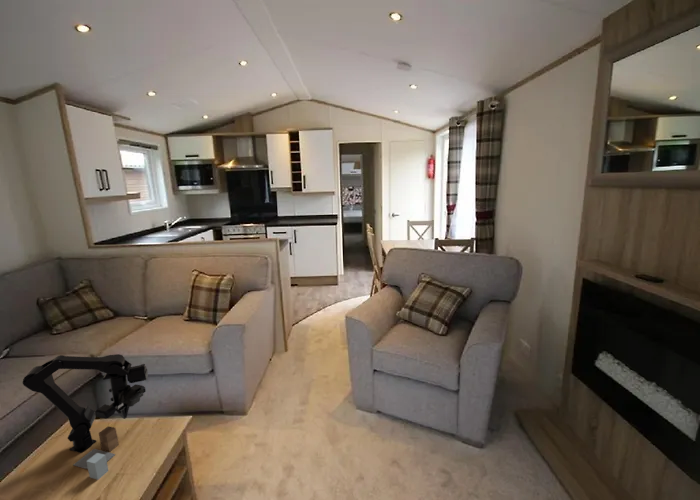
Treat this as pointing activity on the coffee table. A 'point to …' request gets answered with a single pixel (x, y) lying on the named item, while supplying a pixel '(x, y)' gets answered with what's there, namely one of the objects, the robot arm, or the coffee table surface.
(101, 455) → the bluegrey block
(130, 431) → the coffee table surface
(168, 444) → the coffee table surface
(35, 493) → the coffee table surface
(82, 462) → the felt mat
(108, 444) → the walnut block
